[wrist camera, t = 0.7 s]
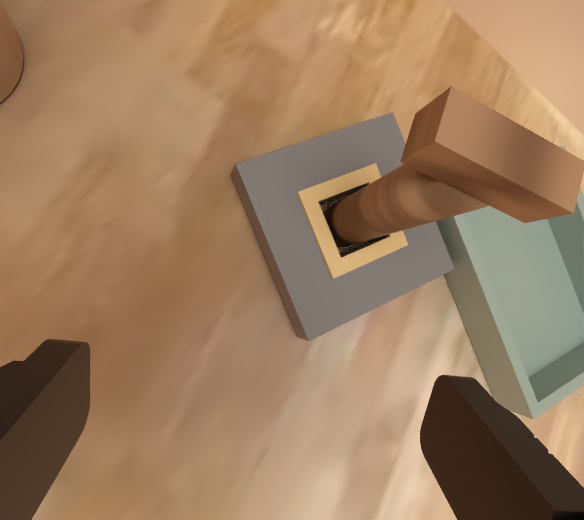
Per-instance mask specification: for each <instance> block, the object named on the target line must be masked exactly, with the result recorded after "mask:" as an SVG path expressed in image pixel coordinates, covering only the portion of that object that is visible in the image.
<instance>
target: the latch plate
mask: <svg viewBox="0 0 584 520" xmlns="http://www.w3.org/2000/svg"><path fill="white" fill-rule="evenodd" d="M404 148H405V142H404V140H403V137H402V135H401V132H400V129H399V127H398V124H397V122H396V119H395V117H394V114H393V112H392V113H389V114H386V115H383V116H380V117H377V118H374V119H371V120H368V121H365V122H362V123H359V124H356V125H353V126H350V127H347V128H343V129H340V130H337V131H334V132H331V133H328V134H325V135H322V136H319V137H316V138H313V139H310V140H307V141H304V142H301V143H298V144H295V145H292V146H289V147H286V148H283V149H280V150H276V151H273V152H270V153H267V154H264V155H261V156H258V157H255V158H252V159H249V160H246V161H243V162H240V163H237V164H235V167H234V169H233V172H232V174H231V177H232V180H233V182H234V184H235V187H236V189H237V192H238V194H239V197H240V199H241V201H242V204H243V206H244V209H245V211H246V213H247V216H248V218H249V221H250V223H251V226H252V228H253V230H254V233H255V235H256V238H257V240H258V243H259V245H260V247H261V250H262V252H263V255H264V257H265V260H266V262H267V264H268V267H269V269H270V272H271V274H272V277H273V279H274V281H275V284H276V286H277V289H278V291H279V293H280V296H281V298H282V301H283V303H284V306H285V308H286V310H287V313H288V315H289V318H290V320H291V323H292V325H293V327H294V330H295V332H296V335H297V337H300V338H302V339H305V340H307V341H310V340H312V339H314V338H316V337H318V336H320V335H322V334H324V333H326V332H328V331H330V330H332V329H334V328H336V327H338V326H340V325H342V324H344V323H346V322H348V321H350V320H352V319H354V318H356V317H358V316H360V315H362V314H365V313H367V312H369V311H371V310H373V309H375V308H377V307H379V306H381V305H383V304H385V303H387V302H389V301H391V300H393V299H395V298H397V297H399V296H401V295H403V294H405V293H407V292H409V291H411V290H413V289H415V288H417V287H419V286H421V285H423V284H425V283H427V282H429V281H431V280H433V279H435V278H437V277H440V276H442V275H444V274H446V273H448V272H450V271H452V270H454V269H455V268H454V266H453V263H452V261H451V258H450V256H449V253H448V251H447V248H446V246H445V243H444V241H443V238H442V236H441V233H440V231H439V228H438V225H437V223H436V221H434V222H431V223H427V224H424V225H420V226H416V227H413V228H409V229H406V230H402V231H398V232H395V233H391V234H388V235H384V236H380V237H377V238H373V239H370V241H371V242H369V243H366V244H364V245H362V246H359V247H357V248H355V249H352V250H350V251H348V252H345V253H343V254H341V255H340V254H339V252H338V249H337V247H336V244H335V242H334V239H333V237H332V234H331V232H330V229H329V227H328V224H327V222H326V220H325V217H324V215H323V212H322V210H321V207H320V204H323V203H325V202H328V201H331V200H333V199H336V198H338V197H341V196H344V195H346V194H349V193H351V194H353V193H355V192H357V191H358V190H360V189H362V188H364V187H365V186H367V185H369V184H370V183H372V182H374V181H376V180H377V179H379V178H381V177H383V176H384V175H386V174H388V173H390V172H391V171H393V170H395V169H396V168H398V167H400V166H402V165H403V163H401V162H400V161H401V158H402V155H403V152H404Z"/></svg>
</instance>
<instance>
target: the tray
mask: <svg viewBox="0 0 584 520" xmlns="http://www.w3.org/2000/svg"><path fill="white" fill-rule="evenodd" d="M560 148H562V149H563V150H565V151H566V149H565V147H564V146H562V147H560ZM436 223H437V225H438V228H439V231H440V233H441V236H442V238H443V241H444V243H445V246H446V248H447V251H448V253H449V256H450V258H451V261H452V263H453V266H454V268H455V269H454V270H452V271H450V272H448V273H446V274H444V275H445V278H446V280H447V283H448V285H449V288H450V290H451V293H452V295H453V298H454V300H455V303H456V305H457V308H458V310H459V313H460V315H461V318H462V320H463V323H464V325H465V328H466V330H467V333H468V336H469V338H470V341H471V343H472V346H473V348H474V351H475V353H476V356H477V358H478V361H479V363H480V366H481V368H482V371H483V373H484V376H485V378H486V381H487V383H488V386H489V388H490V391H491V393H492V396H493V398H494V400H495V401H496V402H497V403H499V404H500V405H502V406H503V407H504V408H506V409H507V410H510V411H512V412H515V413H518V414H520V415H523V416H526V417H529V418H531V419H535V418H536V417H538V416H539V415H541V414H542V413H544V412H545V411H547V410H548V409H550V408H551V407H553V406H554V405H555V404H557V403H558V402H560V401H561V400H563V399H564V398H566V397H567V396H569V395H570V394H572V393H573V392H574V391H576V390H577V389H579V388H580V387H582V386H583V385H584V196H583V194H582V191H581V188H580V189H579V194H578V198H577V202H576V207H575V211H574V214H569V215H564V216H559V217H554V218H549V219H544V220H539V221H534V222H529V223H523V222H521V221H519V220H517V219H515V218H513V217H511V216H509V215H507V214H505V213H503V212H501V211H499V210H497V209H495V208H493V207H491V206H487V207H484V208H481V209H478V210H474V211H470V212H467V213H463V214H460V215H456V216H452V217H449V218H445V219H442V220H438V221H436Z"/></svg>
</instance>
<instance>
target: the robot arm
mask: <svg viewBox="0 0 584 520" xmlns="http://www.w3.org/2000/svg"><path fill="white" fill-rule="evenodd" d="M23 57H24V55H23V50H22V45H21V41H20V39H19V37H18V34H17V32H16V30H15V28H14V27H13V25H12V24H11V22H10V21H9V19H8V17H7V16H6V14H5V13H4V11H3V10H2V8H1V7H0V102H2V101H3V100H4V99H5V98H6V97H7V96H8V95H9V94H10V93H11V92H12V91H13V89H14V87H15V86H16V84H17V83H18V81H19V78H20V75H21V72H22V69H23ZM89 406H90V347H89V345H88V343H87V342H78V341H67V340H56V339H47V340H45V341H44V342H43V343H42V344H41V345H40V346H39V347H38V348H37V349H36V350H35V351H34V352H33V353H32V354H31V355H30V356H29V357H28V358H27V359H26V360H25V361H12V362H10V363H8V364H6V365H4V366H2V367H0V520H31V519H32V518H33V516H34V514H35V512H36V511H37V509H38V507H39V506H40V504H41V502H42V500H43V499H44V497H45V495H46V494H47V492H48V490H49V489H50V487H51V485H52V483H53V482H54V480H55V478H56V477H57V475H58V473H59V471H60V470H61V468H62V466H63V465H64V463H65V461H66V459H67V458H68V456H69V454H70V453H71V451H72V449H73V447H74V446H75V444H76V442H77V441H78V439H79V437H80V435H81V434H82V432H83V429H84V427H85V424H86V421H87V417H88V413H89ZM420 444H421V449H422V452H423V455H424V457H425V459H426V461H427V463H428V465H429V467H430V469H431V470H432V472H433V474H434V476H435V478H436V480H437V482H438V484H439V486H440V488H441V489H442V491H443V493H444V495H445V497H446V499H447V501H448V503H449V505H450V507H451V508H452V510H453V512H454V514H455V516H456V518H457V520H584V488H583V487H582V486H581V485H580V484H579V482H578V481H577V480H576V479H575V478H574V477H573V476H572V475H571V474H570V473H569V472H568V471H567V470H566V468H565V467H564V466H563V465H562V464H561V463H560V462H559V461H558V460H557V459H556V458H555V457H554V456H553V455H552V454H549V453H548V449H547V448H546V447H545V446H544V445H543V444H542V443H541V442H540V441H539V440H538V438H534V434H533V433H532V432H531V431H530V430H529V429H528V428H527V427H526V426H525V424H524V423H523V422H522V421H521V420H520V419H519V418H518V417H517V416H516V415H514V414H513V413H511V412H510V411H509V410H507V409H506V408H504V407H503V406H502V405H500V404H499V403H497V402H496V401H495V400H494V399H493V398H492V397H491V396H490V394H489V393H488V392H487V391H486V390H485V389H484V388H483V387H482V386H481V385H480V383H479V382H478V381H477V380H476V379H474V378H471V377H460V376H449V375H441V376H439V377H438V378H437V379H436V381H435V383H434V386H433V390H432V393H431V396H430V399H429V403H428V406H427V409H426V412H425V416H424V419H423V422H422V425H421V430H420Z"/></svg>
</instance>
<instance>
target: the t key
mask: <svg viewBox="0 0 584 520" xmlns="http://www.w3.org/2000/svg"><path fill="white" fill-rule="evenodd" d="M400 162H401V163H403V165H402V166H400V167H398V168H396V169H395V170H393V171H391V172H390V173H388V174H386V175H384V176H383V177H381V178H379V179H377V180H376V181H374V182H372V183H370V184H369V185H367V186H365V187H364V188H362V189H360V190H358V191H357V192H355V193H353V194H351V195H350V196H348V197H346V198H344V199H343V200H341V201H339V202H338V203H336V204H334V205H332V206H331V207H329V208H327V209H326V210H325V211H324V212H323V215H324V217H325V220H326V222H327V224H328V227H329V229H330V232H331V234H332V237H333V239H334V242H335V244H336V247H344V246H348V245H352V244H355V243H359V242H362V241H366V240H370V239H373V238H377V237H380V236H384V235H388V234H391V233H395V232H398V231H402V230H406V229H409V228H413V227H416V226H420V225H424V224H427V223H431V222H434V221H438V220H442V219H445V218H449V217H452V216H456V215H460V214H463V213H467V212H470V211H474V210H478V209H481V208H484V207H487V206H491V207H493V208H495V209H497V210H499V211H501V212H503V213H505V214H507V215H509V216H511V217H513V218H515V219H517V220H519V221H521V222H523V223H529V222H534V221H539V220H544V219H549V218H554V217H559V216H564V215H569V214H574V211H575V207H576V202H577V198H578V194H579V189H580V185H581V180H582V176H583V171H584V161H583V160H581V159H579V158H578V157H576V156H574V155H572V154H571V153H569V152H567V151H565V150H563V149H562V148H560V147H558V146H556V145H555V144H553V143H551V142H549V141H548V140H546V139H544V138H542V137H540V136H539V135H537V134H535V133H533V132H532V131H530V130H528V129H526V128H524V127H523V126H521V125H519V124H517V123H516V122H514V121H512V120H510V119H508V118H507V117H505V116H503V115H501V114H500V113H498V112H496V111H494V110H493V109H491V108H489V107H487V106H485V105H484V104H482V103H480V102H478V101H477V100H475V99H473V98H471V97H469V96H468V95H466V94H464V93H462V92H461V91H459V90H457V89H455V88H453V87H452V86H451V87H450V88H448V89H447V90H446V91H445V92H443V93H442V94H441V95H439V96H438V97H437V98H435V99H434V100H433V101H432V102H430V103H429V104H428V105H426V106H425V107H424V108H422V109H421V110H420V111H418V112H417V113H416V114H415V117H414V120H413V123H412V126H411V129H410V133H409V136H408V139H407V142H406V145H405V148H404V152H403V155H402V158H401V161H400Z"/></svg>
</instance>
